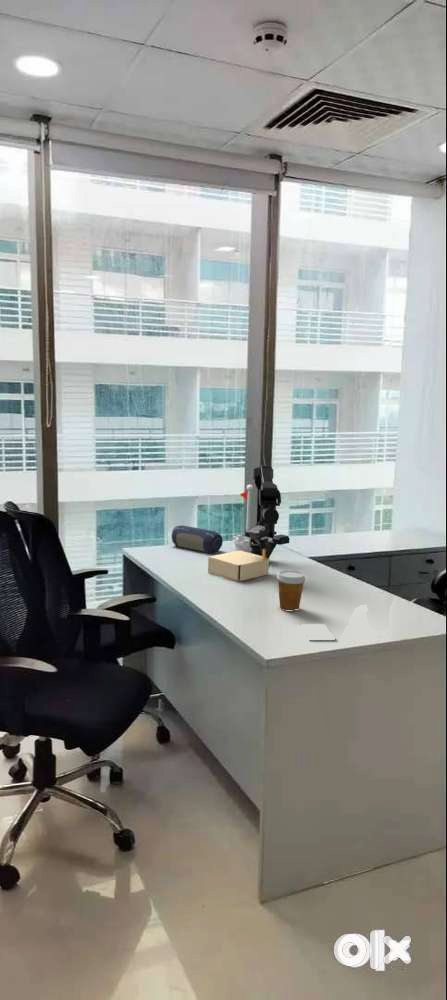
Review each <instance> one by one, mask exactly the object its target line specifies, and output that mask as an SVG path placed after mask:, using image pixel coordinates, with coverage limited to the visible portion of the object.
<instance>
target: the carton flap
mask: <svg viewBox="0 0 447 1000" xmlns="http://www.w3.org/2000/svg"><path fill="white" fill-rule="evenodd" d="M266 552H267V548H264V549H263V554H262V560H260V561H255V562H251V563H246V564H242V565H240V581H239V582H242V581H245V580H250V579H254V578H258V577H263V576H267V575H269V571H268V560H269V561H270V557H269V558H267V556H266Z"/></svg>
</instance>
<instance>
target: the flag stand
mask: <svg viewBox="0 0 447 1000" xmlns="http://www.w3.org/2000/svg"><path fill="white" fill-rule="evenodd" d="M253 489H254V486H253V485H252V484H247V486H246V491H244V492H242V493H240V494H239V495H240V497H242V498H244V499H245V500H247V509H246V528H245V529H246V530H247V529H251V528H250V527H251V526H250V525H251V510H252V509H251V506H252V491H253ZM246 530H245V531H246ZM249 539H250V537H246V536H243V534H236V535H234V536H233V539H232V542H233V544H234V549H235V551H244V552H248V553H251V550H252V547H250V546H249ZM252 544H253V543H252Z"/></svg>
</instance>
